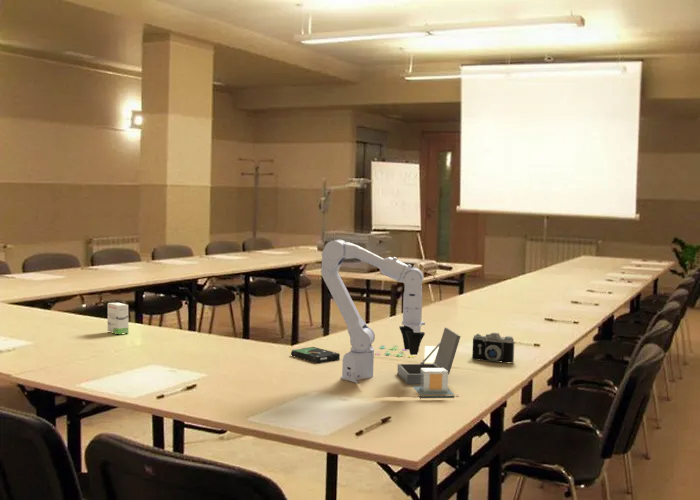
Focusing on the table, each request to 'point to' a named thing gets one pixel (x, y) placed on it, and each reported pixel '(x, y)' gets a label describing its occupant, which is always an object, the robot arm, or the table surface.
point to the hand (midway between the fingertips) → (410, 351)
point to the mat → (433, 393)
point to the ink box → (118, 318)
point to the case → (443, 359)
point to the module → (434, 380)
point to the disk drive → (315, 354)
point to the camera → (493, 347)
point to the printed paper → (427, 350)
